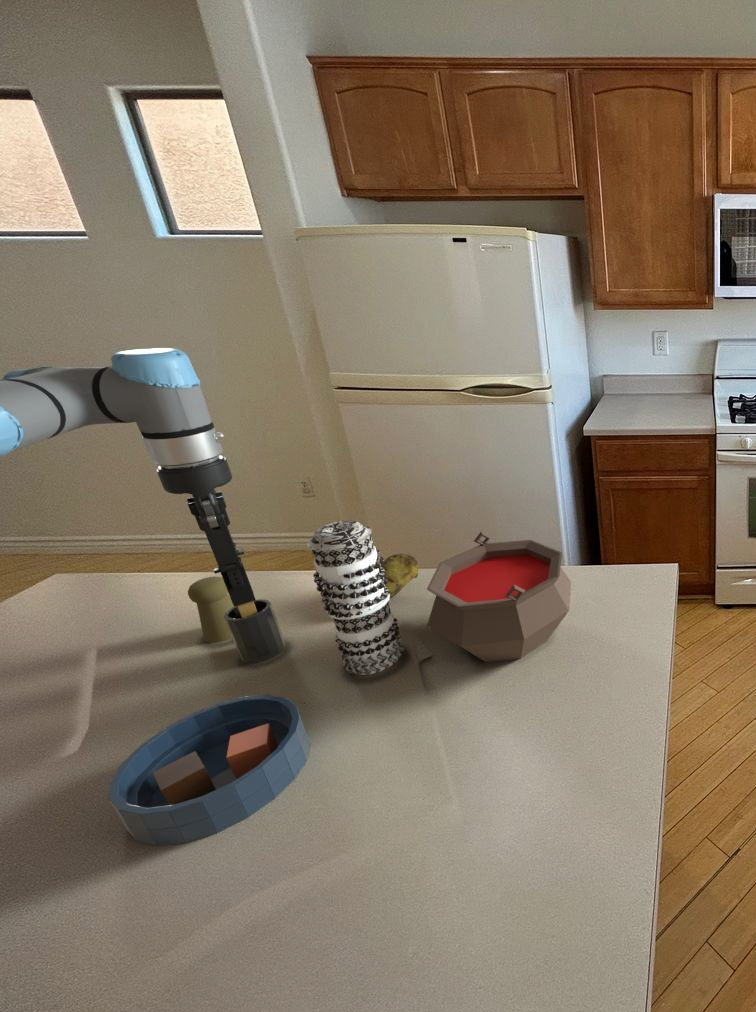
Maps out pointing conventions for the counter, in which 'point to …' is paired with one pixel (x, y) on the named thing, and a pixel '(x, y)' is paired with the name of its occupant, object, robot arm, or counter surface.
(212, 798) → the bowl
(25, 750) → the counter surface
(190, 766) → the walnut block
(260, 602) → the cup
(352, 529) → the decorative candle
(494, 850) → the counter surface
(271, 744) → the terracotta block
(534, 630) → the brown cooking pot
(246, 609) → the stirring stick
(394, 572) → the yellow green pear
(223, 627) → the cork
